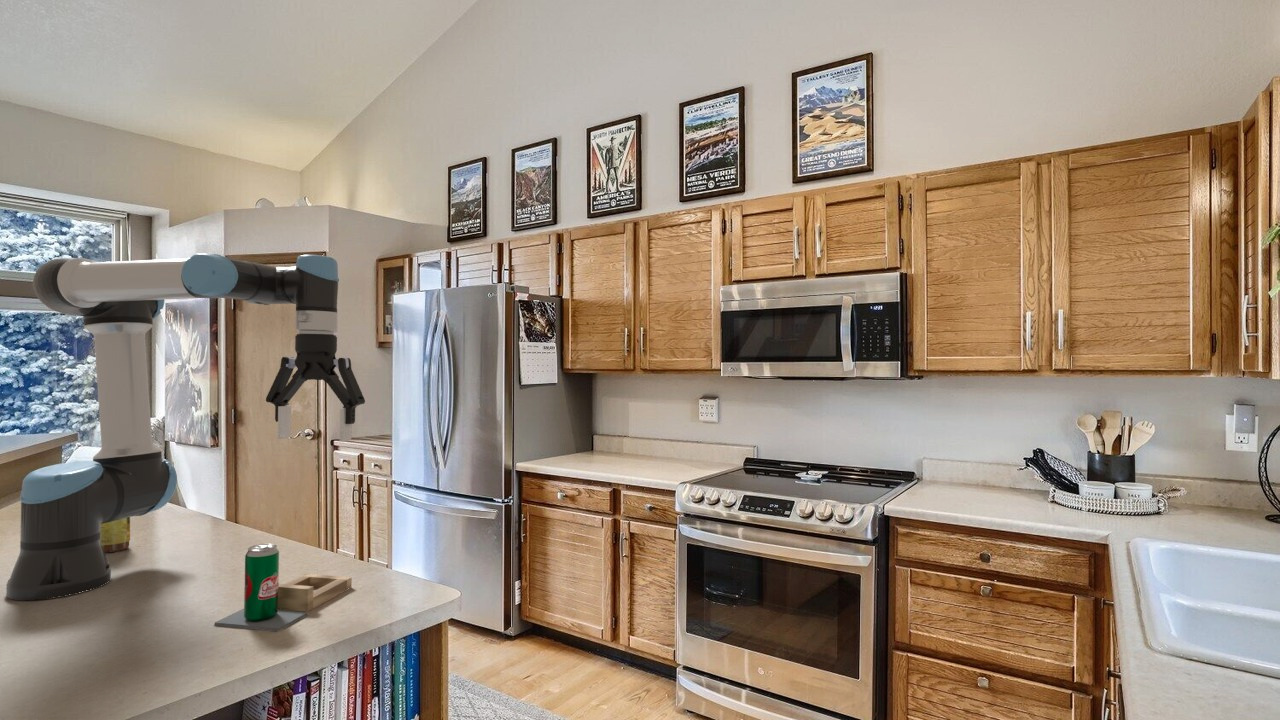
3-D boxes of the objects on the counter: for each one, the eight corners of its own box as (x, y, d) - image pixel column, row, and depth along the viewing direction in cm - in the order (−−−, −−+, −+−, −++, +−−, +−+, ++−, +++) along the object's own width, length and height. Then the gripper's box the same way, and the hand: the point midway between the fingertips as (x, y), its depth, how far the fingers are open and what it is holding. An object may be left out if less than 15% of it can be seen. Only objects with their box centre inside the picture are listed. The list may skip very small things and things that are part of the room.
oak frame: (257, 607, 118) (257, 585, 118) (305, 583, 131) (306, 563, 131) (307, 611, 117) (308, 589, 117) (351, 587, 129) (351, 567, 129)
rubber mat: (214, 625, 110) (214, 622, 110) (246, 610, 117) (246, 607, 117) (278, 631, 108) (278, 628, 108) (307, 615, 115) (307, 612, 115)
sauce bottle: (134, 549, 153) (136, 463, 153) (101, 555, 148) (103, 467, 148) (122, 544, 156) (124, 461, 157) (90, 550, 151) (92, 464, 151)
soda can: (262, 624, 110) (263, 552, 110) (236, 621, 111) (237, 549, 111) (284, 613, 115) (286, 544, 115) (259, 610, 116) (261, 542, 116)
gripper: (247, 332, 130) (245, 439, 130) (362, 332, 126) (360, 443, 126) (274, 333, 137) (272, 435, 137) (384, 334, 133) (382, 439, 133)
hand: (314, 439), depth 132 cm, fingers open, 13 cm apart
